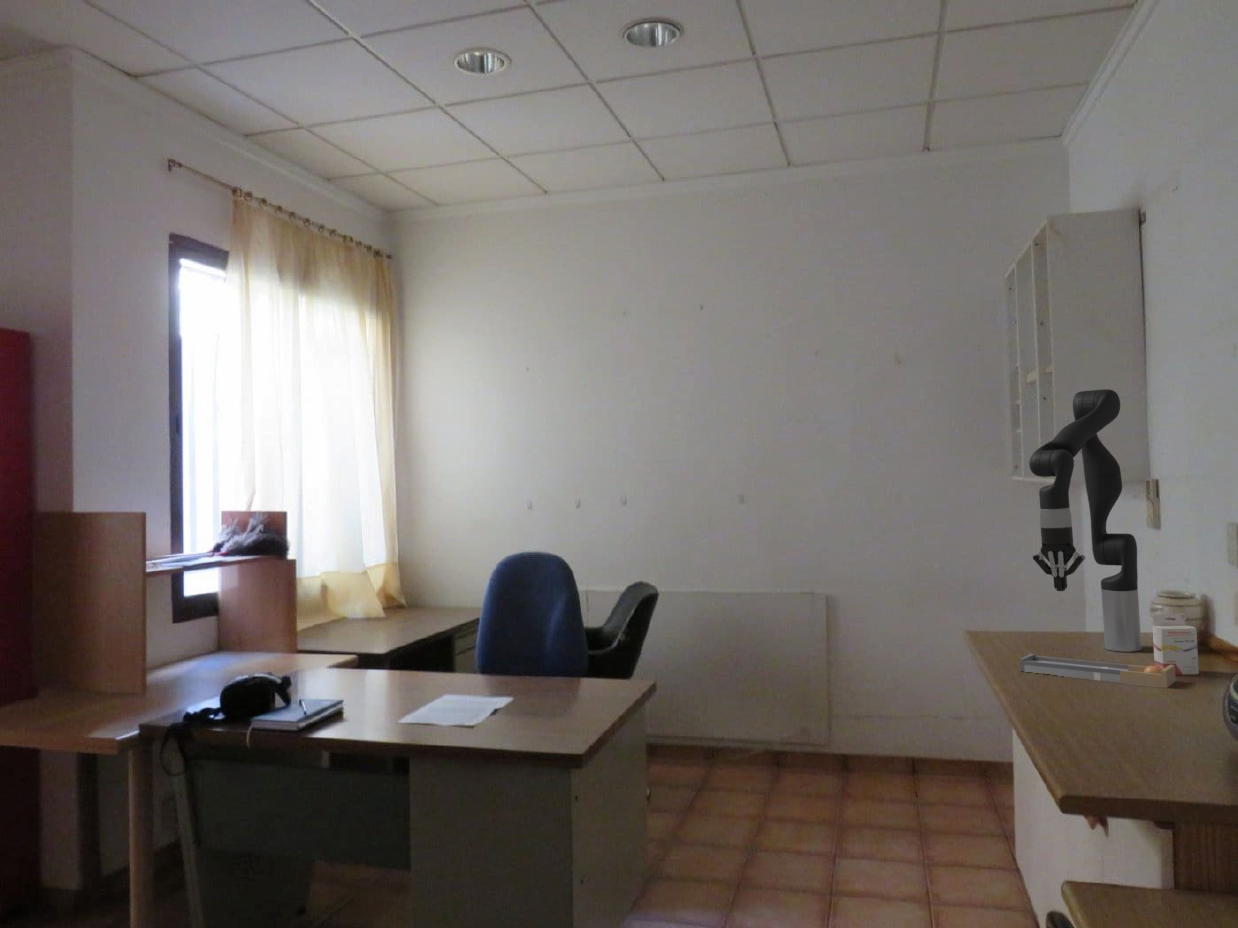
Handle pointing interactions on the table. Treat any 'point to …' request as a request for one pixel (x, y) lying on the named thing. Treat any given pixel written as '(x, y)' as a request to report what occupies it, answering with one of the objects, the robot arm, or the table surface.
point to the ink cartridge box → (1175, 643)
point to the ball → (1153, 670)
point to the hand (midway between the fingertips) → (1060, 590)
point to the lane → (1098, 671)
